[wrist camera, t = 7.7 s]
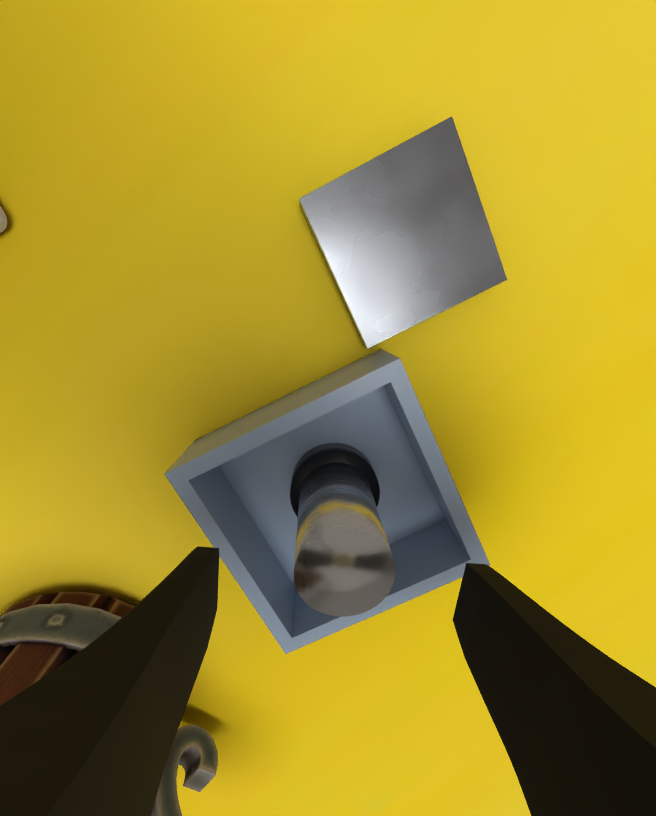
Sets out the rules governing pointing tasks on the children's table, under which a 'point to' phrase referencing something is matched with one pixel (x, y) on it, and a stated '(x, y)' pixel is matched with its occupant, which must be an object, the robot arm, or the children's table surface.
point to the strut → (339, 532)
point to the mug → (62, 639)
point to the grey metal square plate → (405, 234)
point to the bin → (271, 481)
